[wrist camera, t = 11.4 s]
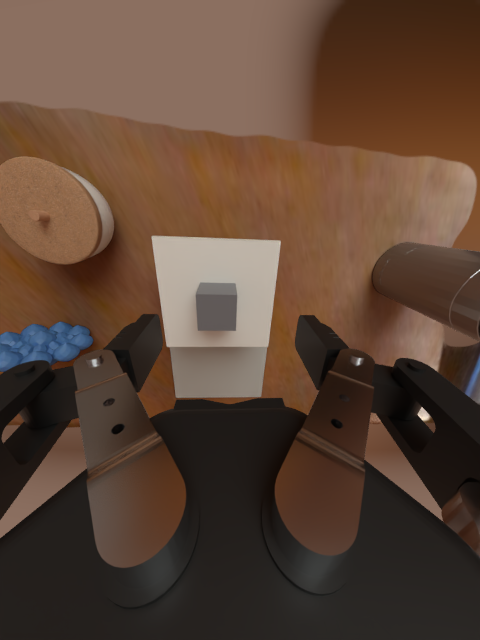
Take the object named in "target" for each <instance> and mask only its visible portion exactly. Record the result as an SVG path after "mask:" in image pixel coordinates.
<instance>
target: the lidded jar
mask: <svg viewBox="0 0 480 640" xmlns="http://www.w3.org/2000/svg"><path fill="white" fill-rule="evenodd" d="M0 223H1V225H2V227H3V228H4V229H5V231H6V232H7V234H8V235H9V236H10V237H11V238H12V239H13V240H14V241H15V242H16V243H17V244H18V245H19V246H20V247H22V248H23V249H24V250H26V251H27V252H29V253H30V254H32V255H34V256H35V257H37V258H40V259H42V260H44V261H47V262H50V263H55V264H65V265H67V264H74V263H78V262H81V261H84V260H85V259H87V258H90V257H93V256H94V255H96V254H98V253H100V252H101V251H102V250H103V249H105V248H106V247H107V245H108V244H109V243H110V241H111V239H112V236H113V232H114V219H113V214H112V212H111V209H110V207H109V205H108V203H107V201H106V200H105V198H104V197H103V196H102V194H101V193H100V192H99V191H98V190H97V189H96V188H95V187H94V186H93V185H92V184H91V183H89V182H88V181H87V180H85V179H84V178H83V177H81V176H79V175H77V174H76V173H74V172H72V171H70V170H68V169H65V168H63V167H60V166H58V165H56V164H54V163H51V162H48V161H46V160H43V159H39V158H34V157H24V156H23V157H16V158H13V159H10V160H7V161H6V162H4V163H3V164H1V166H0Z"/></svg>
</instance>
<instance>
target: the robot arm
mask: <svg viewBox="0 0 480 640" xmlns="http://www.w3.org/2000/svg"><path fill="white" fill-rule="evenodd" d="M372 281H373V285H374V287H375V289H376V290H377V291H378V292H379V293H381V294H383V295H385V296H387V297H389V298H391V299H393V300H395V301H397V302H399V303H401V304H403V305H405V306H407V307H409V308H411V309H413V310H415V311H417V312H419V313H421V314H423V315H425V316H427V317H429V318H431V319H434V320H436V321H438V322H440V323H442V324H444V325H446V326H448V327H450V328H452V329H454V330H456V331H458V332H460V333H462V334H464V335H467V336H469V337H471V338H473V339H475V340H477V341H479V342H480V252H477V251H469V250H462V249H455V248H447V247H440V246H433V245H426V244H418V243H408V242H407V243H401V244H399V245H396V246H394V247H392V248H391V249H389V250H388V251H387V252H385V253H384V254H383V255H382V257H381V258H380V259H379V261H378V262H377V264H376V266H375V268H374V271H373V278H372ZM162 345H163V338H162V332H161V326H160V320H159V316H158V315H157V314H143V315H142V316H141V317H140V318H139V319H138V320H137V321H136V322H135V323H131V324H130V325H128V326H126V327H124V328H123V329H122V330H121V332H120V333H119V334H118V335H117V336H116V338H114V339H113V340H112V341H111V342H110V343H109V344H108V345H107V346H106V347H105V348H104V349H103V350H96V351H92V352H89V353H87V354H84V355H82V356H81V357H79V358H78V359H77V360H76V361H75V362H74V364H73V366H71V367H65V368H60V369H55V370H52V368H51V366H50V364H49V362H48V361H45V360H35V361H29V362H26V363H22V364H19V365H17V366H15V367H12V368H10V369H9V370H7V371H5V372H4V373H3V374H1V375H0V520H1V518H2V517H3V516H4V514H5V513H6V511H7V510H8V508H9V507H10V505H11V504H12V503H13V501H14V500H15V499H16V497H17V496H18V494H19V493H20V492H21V490H22V489H23V487H24V486H25V484H26V483H27V482H28V480H29V479H30V478H31V476H32V475H33V473H34V472H35V471H36V469H37V468H38V466H39V465H40V464H41V462H42V461H43V459H44V458H45V457H46V455H47V454H48V452H49V451H50V450H51V448H52V447H53V445H54V444H55V443H56V441H57V439H58V438H59V437H60V436H61V434H62V433H63V431H64V430H65V428H66V427H67V426H68V424H69V423H70V421H71V420H72V419H76V418H79V422H80V428H81V434H82V440H83V446H84V452H85V458H86V464H87V469H86V470H84V471H83V472H82V473H81V474H79V475H78V476H77V477H76V478H75V479H73V480H72V481H71V482H70V483H68V484H67V485H66V486H65V487H64V488H62V489H61V490H60V491H58V492H57V493H56V494H55V495H54V496H52V497H51V498H50V499H48V500H47V501H46V502H45V503H44V504H42V505H41V506H40V507H39V508H37V509H36V510H35V511H34V512H32V513H31V514H30V515H29V516H27V517H26V518H25V519H24V520H22V521H21V522H20V523H19V524H17V525H16V526H15V527H14V528H13V529H11V530H10V531H9V532H8V533H6V534H5V535H4V536H3V537H1V538H0V640H480V405H478V404H477V403H476V402H475V401H473V400H472V399H471V398H470V397H468V396H467V395H466V394H464V393H463V392H462V391H461V390H459V389H458V388H457V387H456V386H454V385H453V384H452V383H451V382H449V381H448V380H447V379H445V378H444V377H443V376H442V375H440V374H439V373H438V372H437V371H435V370H434V369H433V368H431V367H430V366H428V365H426V364H424V363H422V362H419V361H417V360H413V359H408V358H399V359H397V360H396V362H395V364H394V366H393V367H390V366H384V365H379V364H375V361H374V359H373V358H372V357H371V356H370V355H368V354H366V353H364V352H362V351H359V350H356V349H350V348H349V347H348V346H347V345H346V344H345V343H344V342H343V341H342V340H341V339H340V338H339V336H338V335H337V334H335V332H334V331H333V330H332V329H331V328H330V327H328V326H327V325H325V324H323V323H320V322H319V320H318V319H317V318H316V317H315V316H314V315H300V317H299V319H298V325H297V331H296V337H295V346H296V350H297V352H298V354H299V356H300V358H301V359H302V361H303V363H304V365H305V367H306V369H307V371H308V373H309V375H310V377H311V379H312V381H313V383H314V385H315V387H316V389H317V390H319V392H318V395H317V397H316V399H315V401H314V403H313V405H312V407H311V409H310V412H309V414H308V415H306V414H304V413H302V412H300V411H298V410H296V409H293V408H289V407H285V405H284V402H283V399H282V398H257V399H252V400H248V401H244V402H240V403H235V404H224V403H219V402H214V401H209V400H204V399H196V400H176V403H175V406H174V409H170V410H167V411H164V412H162V413H159V414H157V415H155V416H153V417H152V418H149V416H148V414H147V412H146V410H145V408H144V406H143V404H142V402H141V401H140V399H139V397H138V395H137V393H136V392H140V390H141V388H142V386H143V384H144V382H145V380H146V378H147V376H148V374H149V373H150V371H151V369H152V367H153V365H154V363H155V361H156V359H157V357H158V355H159V353H160V351H161V349H162ZM421 407H423V408H424V409H425V410H426V411H427V412H428V414H429V415H430V416H431V417H432V418H433V420H434V422H435V426H436V429H435V432H434V433H433V432H432V431H431V430H430V429H429V427H428V426H427V425H426V424H425V423H424V422H423V421H422V420H421V418H420V417H419V416H418V415H417V414H418V412H419V410H420V409H421ZM371 412H372V413H376V414H377V416H378V417H379V419H380V420H381V422H382V423H383V425H384V426H385V427H386V429H387V430H388V432H389V433H390V435H391V436H392V438H393V439H394V441H395V442H396V444H397V445H398V447H399V448H400V449H401V451H402V452H403V454H404V455H405V457H406V458H407V460H408V461H409V463H410V464H411V465H412V467H413V469H414V470H415V471H416V473H417V474H418V476H419V477H420V478H421V480H422V482H423V483H424V484H425V486H426V488H427V489H428V490H429V492H430V493H431V495H432V496H433V498H434V499H435V501H436V502H437V504H438V505H439V507H440V508H441V510H442V518H443V521H441V520H440V519H439V518H438V517H436V516H435V515H434V514H433V513H431V512H430V511H429V510H427V509H426V508H425V507H424V506H422V505H421V504H420V503H419V502H417V501H416V500H415V499H413V498H412V497H411V496H410V495H409V494H407V493H406V492H405V491H404V490H402V489H401V488H400V487H398V486H397V485H396V484H395V483H393V482H392V481H390V480H389V479H388V478H387V477H386V476H385V475H383V474H382V473H381V472H379V471H378V470H377V469H376V468H374V467H373V466H372V465H371V464H369V463H368V462H367V461H366V460H364V457H365V450H366V443H367V436H368V429H369V422H370V415H371ZM18 413H19V414H20V415H21V417H22V419H23V420H24V422H23V423H22V424H21V425H20V426H19V428H18V429H17V430H16V431H15V432H14V433H13V434H12V435H11V436H10V437H9V438H8V439H7V440H6V442H4V444H3V442H2V440H1V437H2V432H3V430H4V428H5V427H6V425H7V424H8V423H9V422H10V421H11V420H12V419H13V418H14V417H15V416H16V415H17V414H18Z"/></svg>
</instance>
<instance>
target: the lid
mask: <svg viewBox="0 0 480 640" xmlns="http://www.w3.org/2000/svg"><path fill="white" fill-rule="evenodd" d="M152 243H153V251H154V258H155V265H156V272H157V280H158V287H159V294H160V301H161V309H162V316H163V323H164V331H165V338H166V345H167V347H268V344H269V335H270V327H271V319H272V310H273V302H274V294H275V285H276V277H277V269H278V260H279V252H280V244H281V241H279V240H253V239H226V238H200V237H174V236H152Z"/></svg>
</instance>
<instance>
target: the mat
mask: <svg viewBox="0 0 480 640" xmlns="http://www.w3.org/2000/svg"><path fill="white" fill-rule="evenodd" d="M170 352H171V361H172V369H173V377H174V386H175V394H176V398H207V397H261V392H262V384H263V376H264V368H265V360H266V352H267V347H170Z"/></svg>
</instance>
